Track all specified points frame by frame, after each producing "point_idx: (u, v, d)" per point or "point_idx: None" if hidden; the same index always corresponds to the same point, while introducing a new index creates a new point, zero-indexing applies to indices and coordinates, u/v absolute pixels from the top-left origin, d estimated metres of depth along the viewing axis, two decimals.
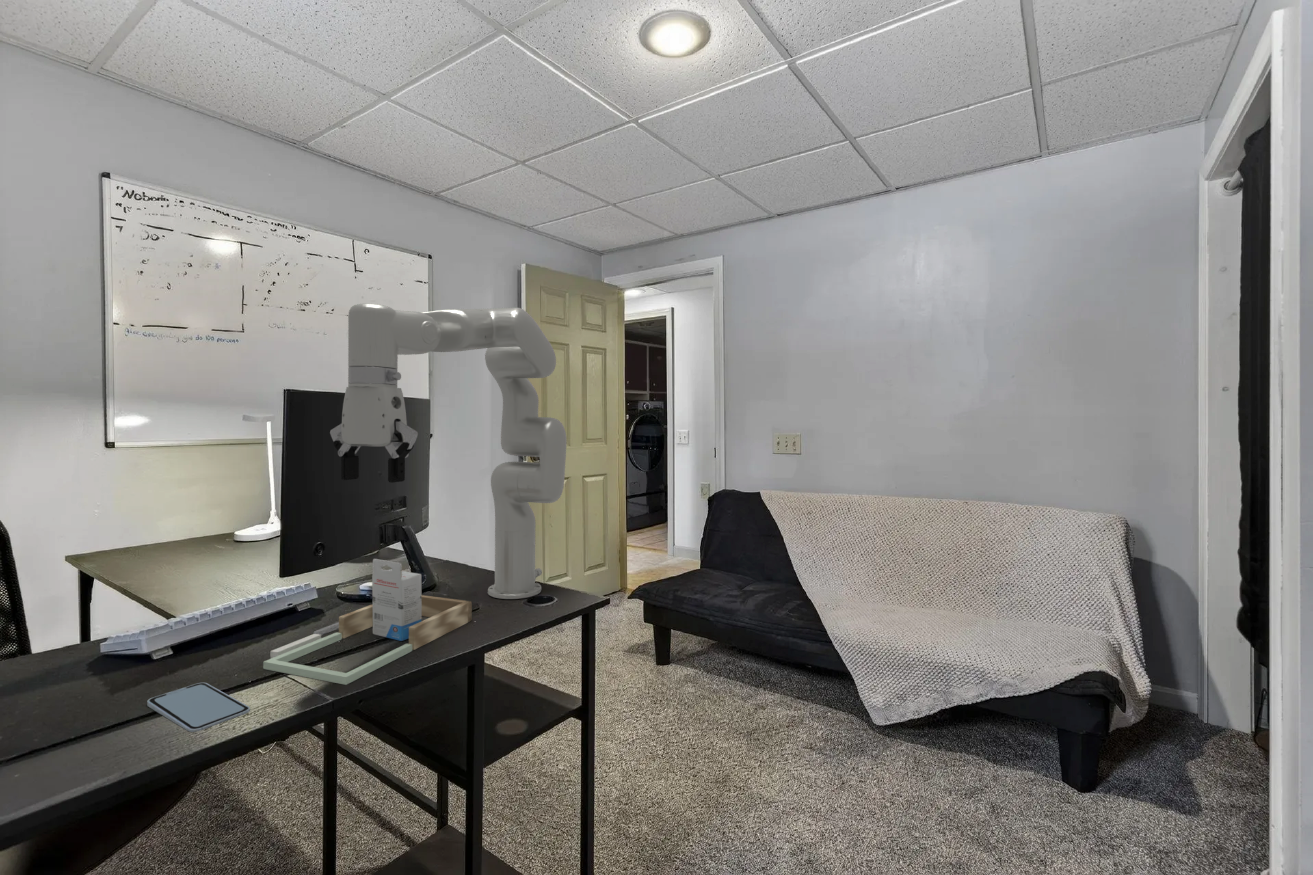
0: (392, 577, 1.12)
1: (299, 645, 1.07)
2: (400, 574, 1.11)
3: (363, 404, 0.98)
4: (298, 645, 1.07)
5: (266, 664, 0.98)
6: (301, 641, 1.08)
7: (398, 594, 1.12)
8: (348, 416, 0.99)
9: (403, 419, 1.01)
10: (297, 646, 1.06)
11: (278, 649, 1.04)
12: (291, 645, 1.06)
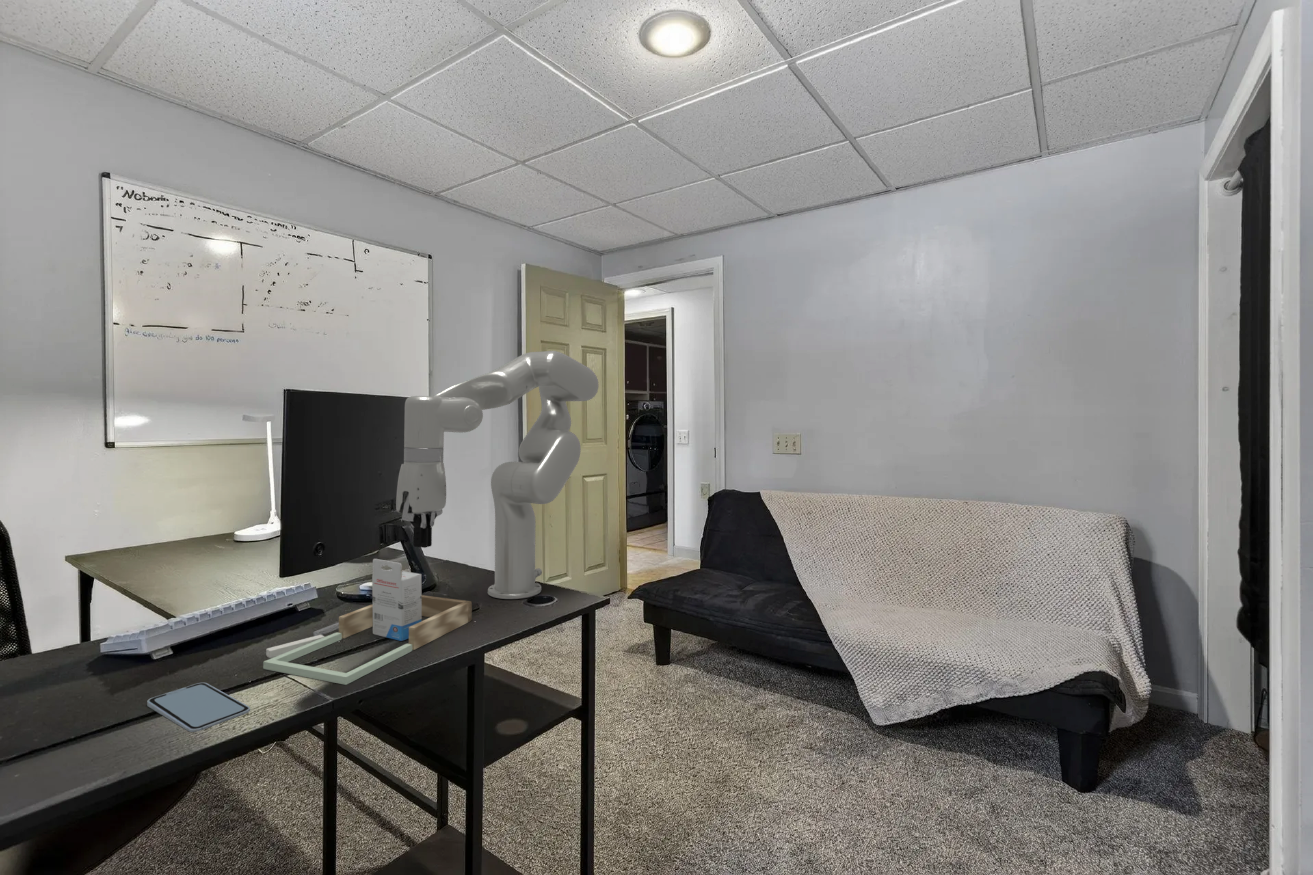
0: (392, 577, 1.12)
1: (297, 645, 1.06)
2: (400, 574, 1.11)
3: (435, 478, 1.21)
4: (296, 646, 1.06)
5: (266, 664, 0.98)
6: (301, 641, 1.08)
7: (399, 594, 1.12)
8: (422, 489, 1.18)
9: None
10: (294, 646, 1.06)
11: (274, 647, 1.04)
12: (288, 645, 1.06)
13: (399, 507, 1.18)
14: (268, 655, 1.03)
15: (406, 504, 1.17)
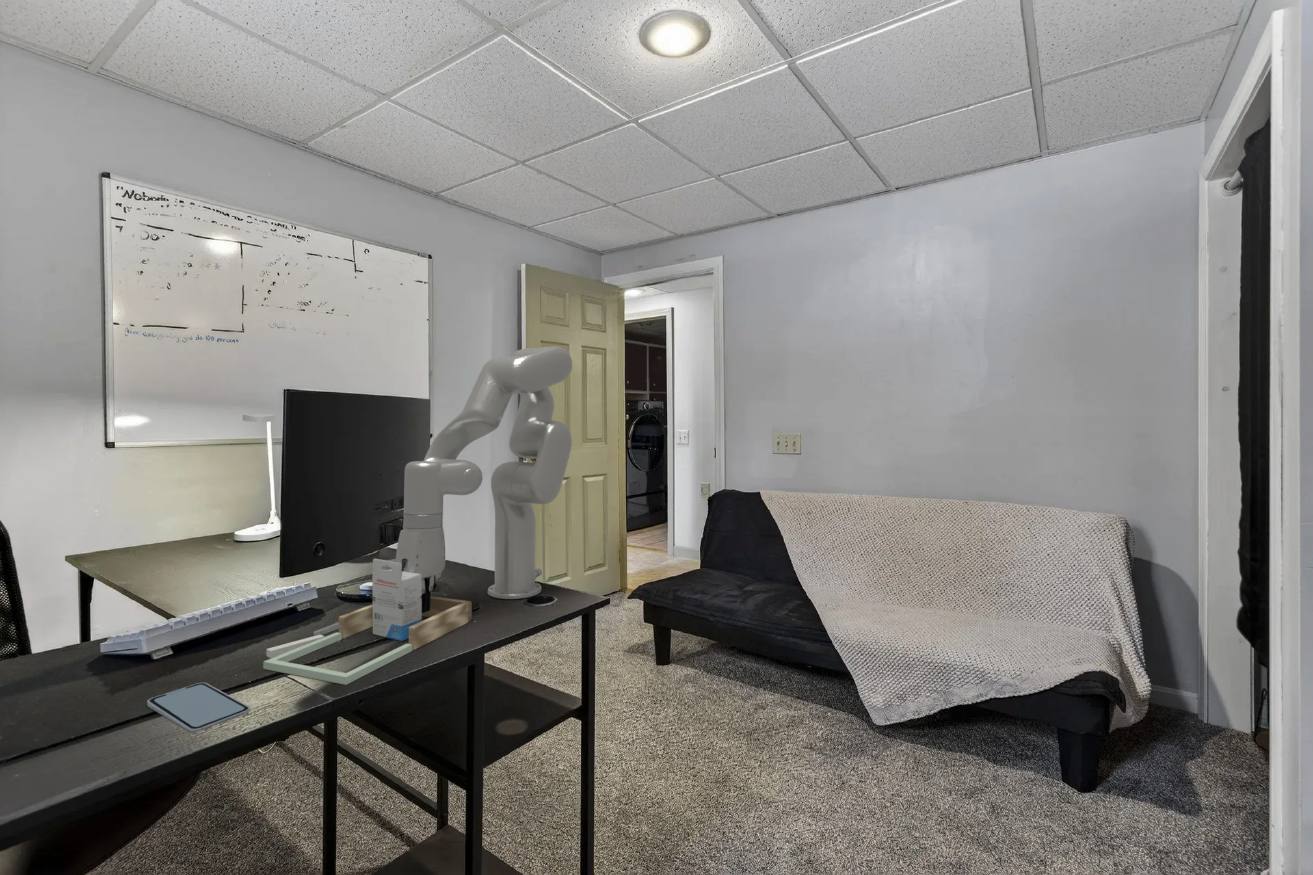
0: (392, 577, 1.12)
1: (297, 645, 1.07)
2: (400, 574, 1.11)
3: (434, 543, 1.22)
4: (296, 646, 1.06)
5: (266, 664, 0.98)
6: (301, 641, 1.08)
7: (399, 594, 1.12)
8: (421, 556, 1.18)
9: None
10: (294, 646, 1.06)
11: (274, 648, 1.04)
12: (288, 645, 1.06)
13: None
14: (268, 655, 1.03)
15: (405, 571, 1.18)
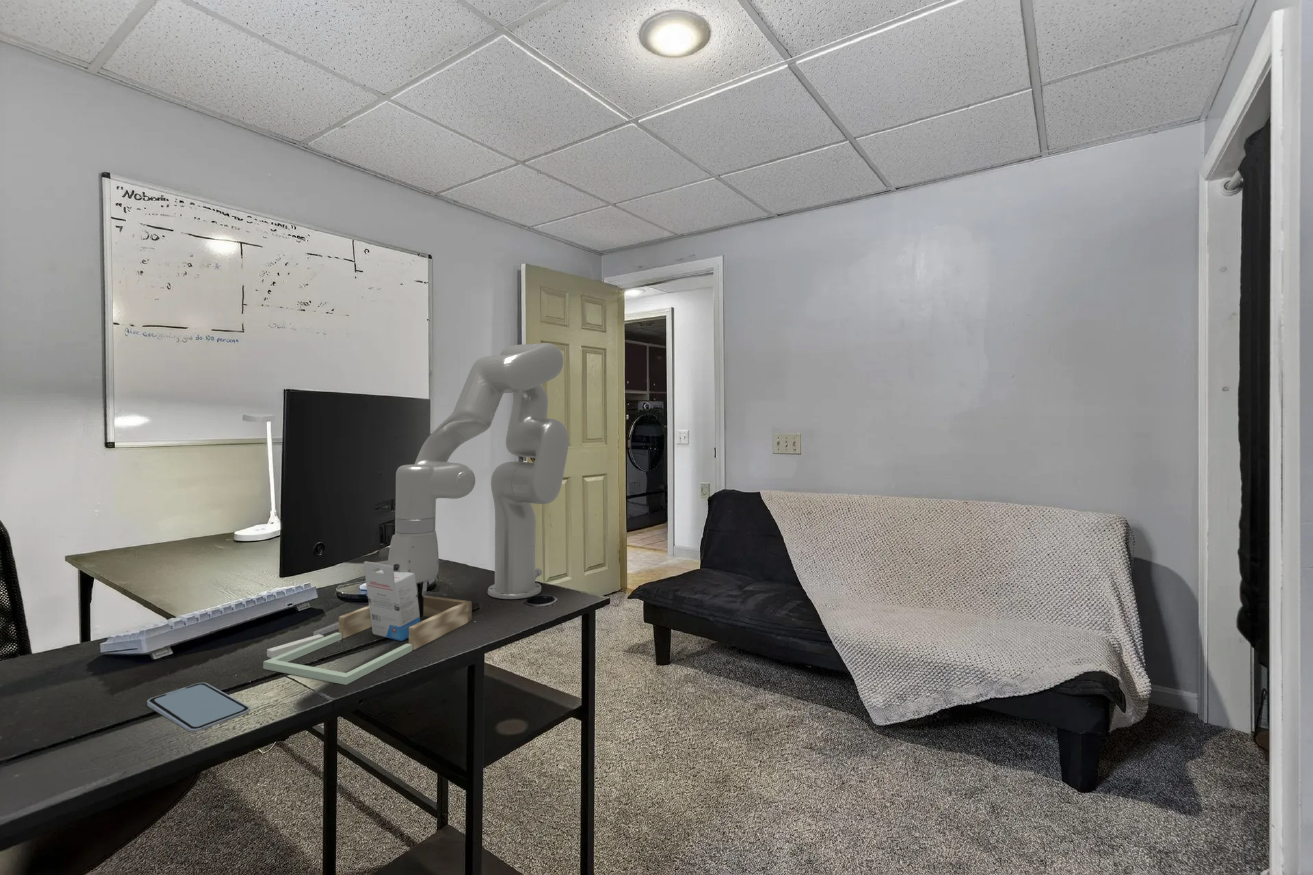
0: (385, 580, 1.11)
1: (297, 645, 1.07)
2: (392, 577, 1.10)
3: (426, 548, 1.19)
4: (297, 645, 1.06)
5: (266, 664, 0.98)
6: (301, 641, 1.08)
7: (393, 596, 1.11)
8: (414, 561, 1.16)
9: None
10: (295, 646, 1.06)
11: (275, 648, 1.04)
12: (289, 645, 1.06)
13: None
14: (269, 655, 1.03)
15: None
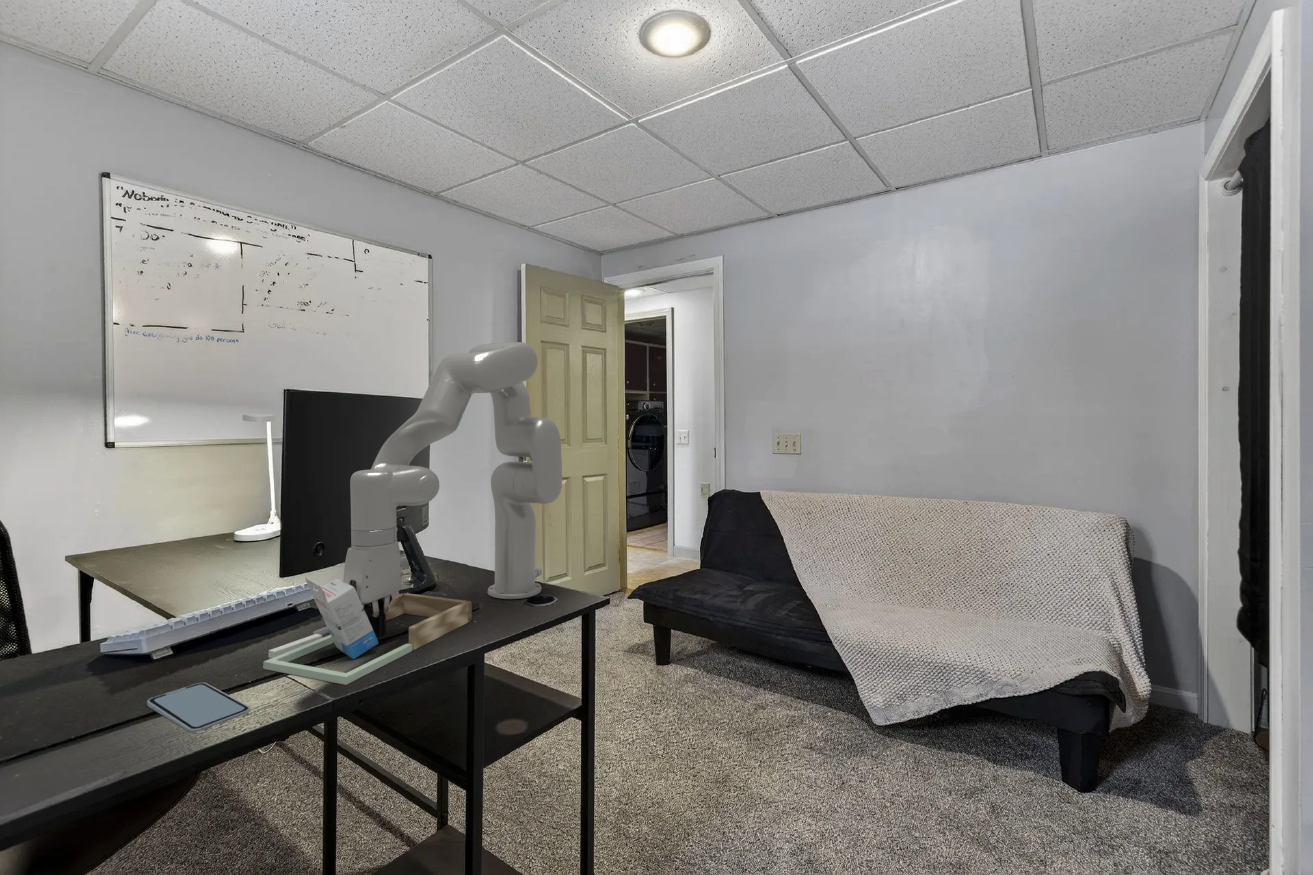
0: (321, 599, 1.01)
1: (298, 645, 1.07)
2: (324, 596, 1.00)
3: (387, 561, 1.09)
4: (297, 645, 1.07)
5: (266, 664, 0.98)
6: (301, 641, 1.08)
7: (332, 615, 1.01)
8: (372, 576, 1.06)
9: None
10: (296, 646, 1.06)
11: (276, 648, 1.04)
12: (290, 645, 1.06)
13: None
14: (272, 656, 1.03)
15: None
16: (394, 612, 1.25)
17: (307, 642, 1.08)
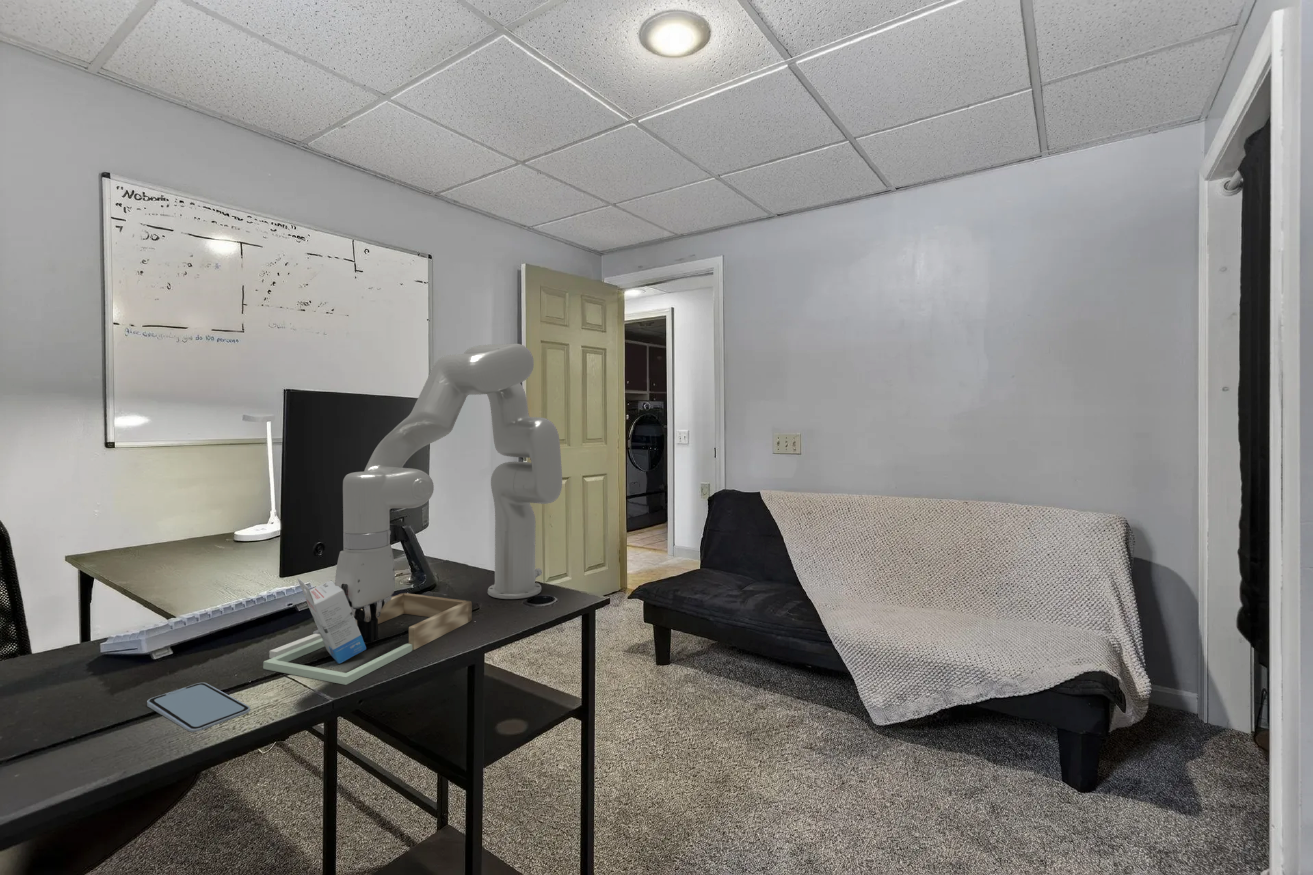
0: (310, 600, 1.00)
1: (298, 645, 1.07)
2: (311, 598, 0.98)
3: (379, 564, 1.07)
4: (298, 645, 1.07)
5: (266, 664, 0.98)
6: (301, 641, 1.08)
7: (319, 618, 0.99)
8: (364, 580, 1.04)
9: None
10: (296, 646, 1.06)
11: (277, 649, 1.04)
12: (290, 645, 1.06)
13: None
14: (273, 656, 1.03)
15: None
16: (394, 612, 1.25)
17: (307, 642, 1.08)
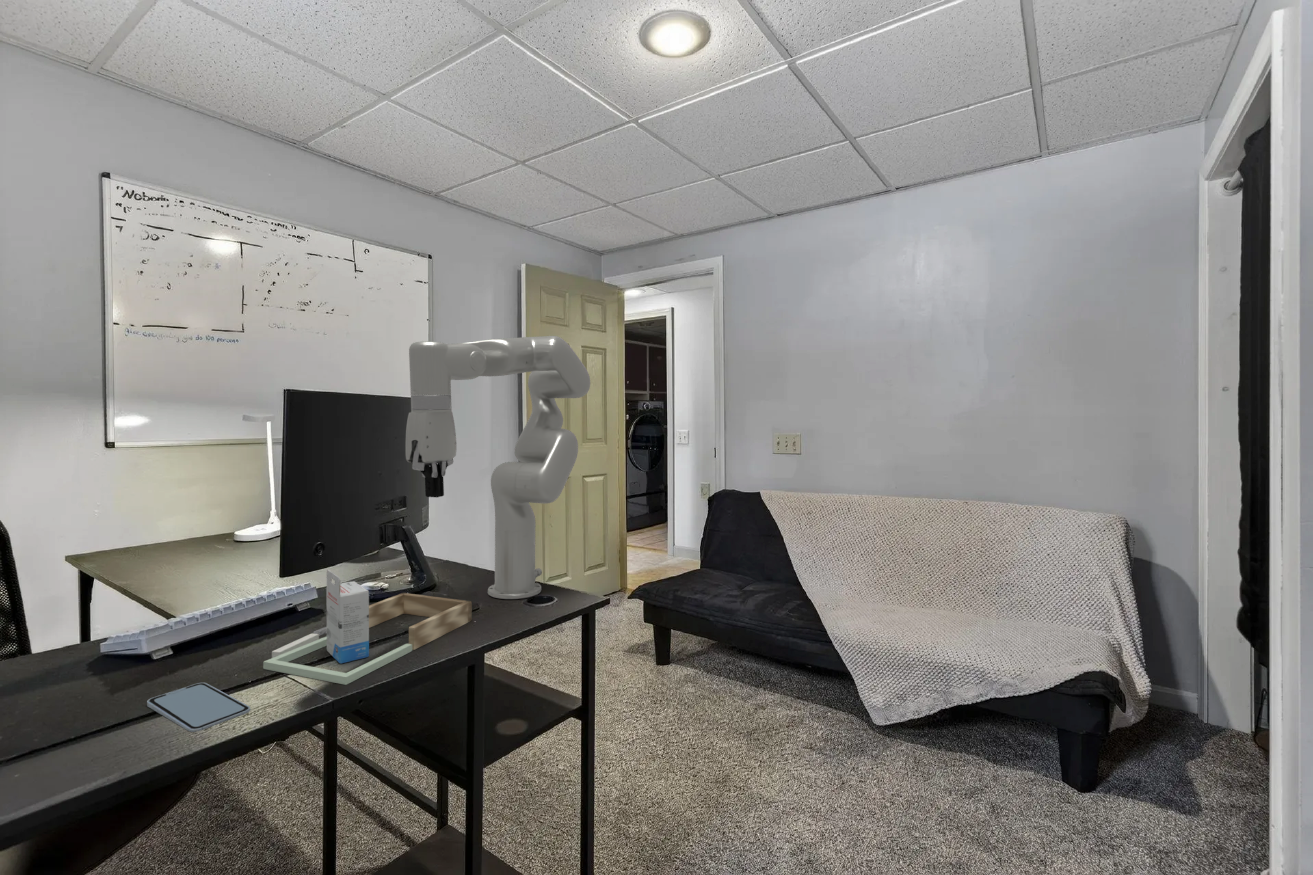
0: (335, 592, 1.02)
1: (299, 645, 1.07)
2: (339, 590, 1.01)
3: (444, 426, 1.18)
4: (298, 645, 1.07)
5: (266, 664, 0.98)
6: (300, 641, 1.08)
7: (338, 611, 1.01)
8: (432, 437, 1.15)
9: None
10: (297, 646, 1.06)
11: (279, 649, 1.04)
12: (291, 645, 1.06)
13: (409, 456, 1.15)
14: None
15: (416, 453, 1.14)
16: (394, 612, 1.25)
17: (306, 641, 1.08)
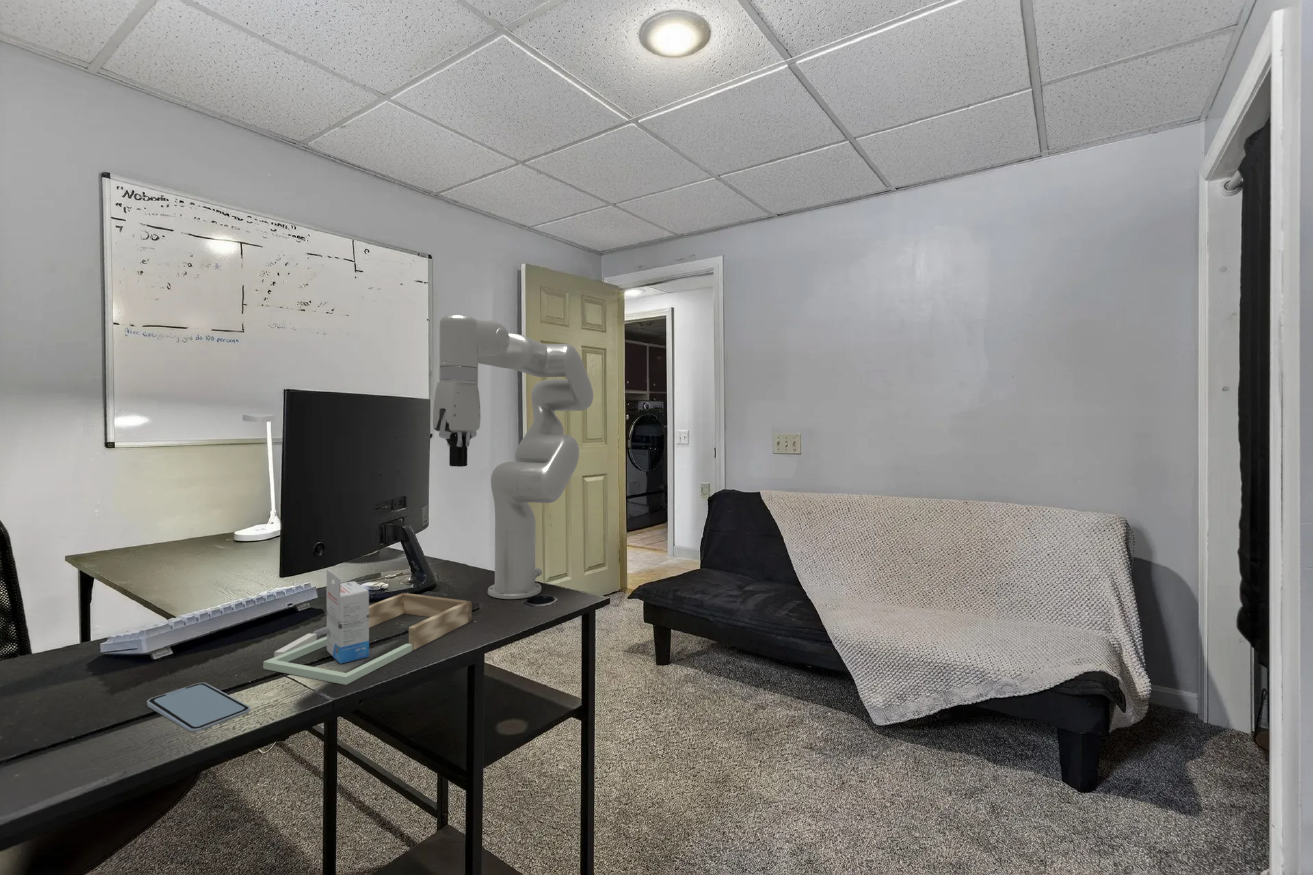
0: (335, 592, 1.02)
1: (300, 644, 1.07)
2: (339, 590, 1.01)
3: (470, 398, 1.22)
4: (299, 645, 1.07)
5: (266, 664, 0.98)
6: (300, 641, 1.08)
7: (338, 611, 1.01)
8: (459, 407, 1.19)
9: None
10: (298, 646, 1.06)
11: (281, 649, 1.04)
12: (292, 645, 1.06)
13: (436, 424, 1.18)
14: None
15: (443, 421, 1.18)
16: (394, 612, 1.25)
17: (306, 641, 1.09)
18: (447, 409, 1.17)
